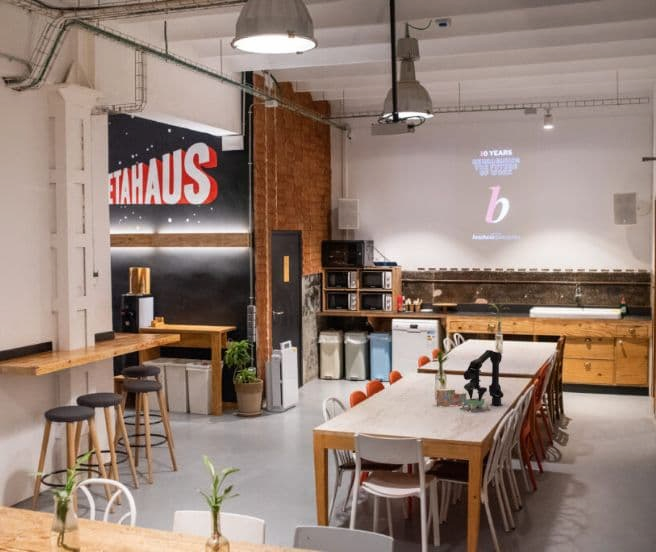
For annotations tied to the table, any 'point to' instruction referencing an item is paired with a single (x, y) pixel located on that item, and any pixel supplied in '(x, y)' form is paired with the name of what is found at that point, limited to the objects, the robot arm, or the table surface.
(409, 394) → the table surface
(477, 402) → the board
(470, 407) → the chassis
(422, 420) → the table surface
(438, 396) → the stack of blocks
